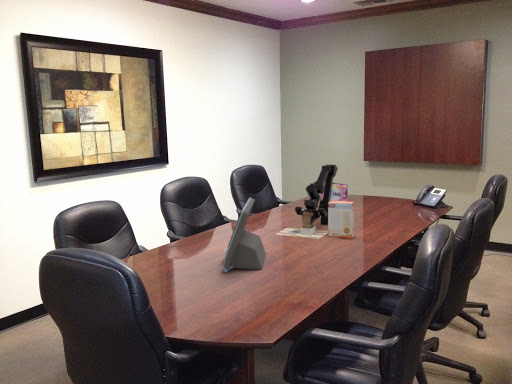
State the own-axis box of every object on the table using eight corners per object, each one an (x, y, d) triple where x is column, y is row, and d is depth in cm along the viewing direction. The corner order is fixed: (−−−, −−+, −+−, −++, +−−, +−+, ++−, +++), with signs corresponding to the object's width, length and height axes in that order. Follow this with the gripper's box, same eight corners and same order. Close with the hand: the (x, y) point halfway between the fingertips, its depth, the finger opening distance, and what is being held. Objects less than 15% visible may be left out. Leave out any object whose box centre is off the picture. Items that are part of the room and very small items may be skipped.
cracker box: (354, 236, 279) (354, 201, 276) (351, 239, 274) (352, 203, 270) (330, 234, 285) (330, 200, 282) (328, 237, 280) (327, 201, 276)
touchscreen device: (230, 251, 257) (230, 196, 252) (266, 252, 255) (267, 197, 250) (219, 273, 222) (218, 209, 217) (261, 274, 220) (262, 210, 215)
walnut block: (305, 232, 289) (305, 211, 287) (312, 233, 287) (312, 212, 285) (303, 234, 285) (302, 212, 283) (310, 235, 283) (309, 213, 281)
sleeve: (304, 231, 291) (304, 225, 291) (315, 233, 288) (315, 226, 287) (300, 234, 285) (299, 228, 284) (311, 235, 282) (311, 229, 281)
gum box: (349, 201, 388) (349, 184, 386) (342, 202, 384) (342, 185, 381) (327, 197, 407) (327, 181, 405) (321, 198, 402) (321, 182, 400)
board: (287, 228, 304) (287, 227, 304) (329, 232, 290) (329, 231, 290) (274, 235, 288) (274, 233, 288) (318, 239, 275) (318, 238, 275)
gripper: (295, 193, 290) (288, 214, 283) (324, 195, 282) (318, 217, 274) (301, 203, 298) (294, 225, 291) (329, 205, 290) (323, 227, 282)
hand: (306, 223), depth 284 cm, fingers closed on walnut block, 4 cm apart
